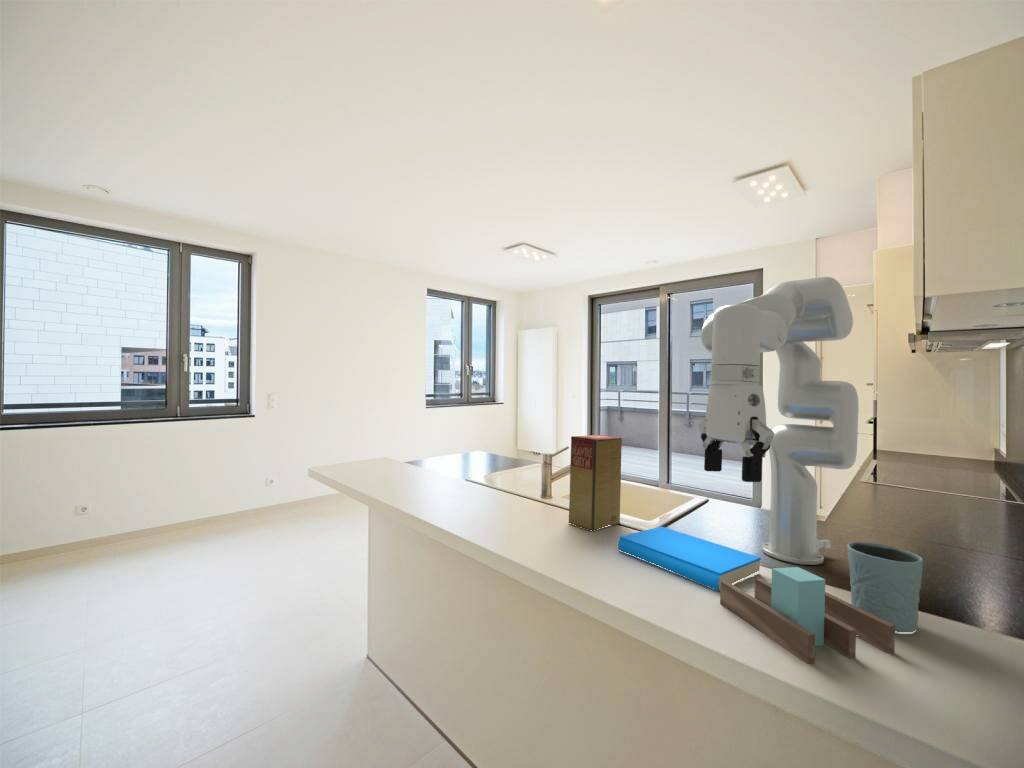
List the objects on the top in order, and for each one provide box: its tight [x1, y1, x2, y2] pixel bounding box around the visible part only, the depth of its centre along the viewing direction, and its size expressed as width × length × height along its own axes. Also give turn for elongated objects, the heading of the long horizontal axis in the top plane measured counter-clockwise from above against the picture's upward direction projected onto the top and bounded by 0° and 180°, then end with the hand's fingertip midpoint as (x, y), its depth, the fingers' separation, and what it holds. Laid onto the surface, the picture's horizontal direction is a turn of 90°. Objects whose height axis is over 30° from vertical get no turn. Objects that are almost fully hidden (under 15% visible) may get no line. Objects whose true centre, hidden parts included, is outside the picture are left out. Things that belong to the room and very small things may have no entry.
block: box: [771, 566, 826, 647], centre depth 70 cm, size 5×5×10 cm
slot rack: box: [719, 578, 896, 664], centre depth 74 cm, size 16×18×4 cm
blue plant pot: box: [846, 541, 924, 632], centre depth 77 cm, size 10×10×12 cm
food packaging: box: [568, 434, 622, 532], centre depth 128 cm, size 13×9×25 cm
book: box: [617, 526, 762, 591], centre depth 100 cm, size 17×4×25 cm
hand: (730, 476), depth 77 cm, fingers open, 9 cm apart
